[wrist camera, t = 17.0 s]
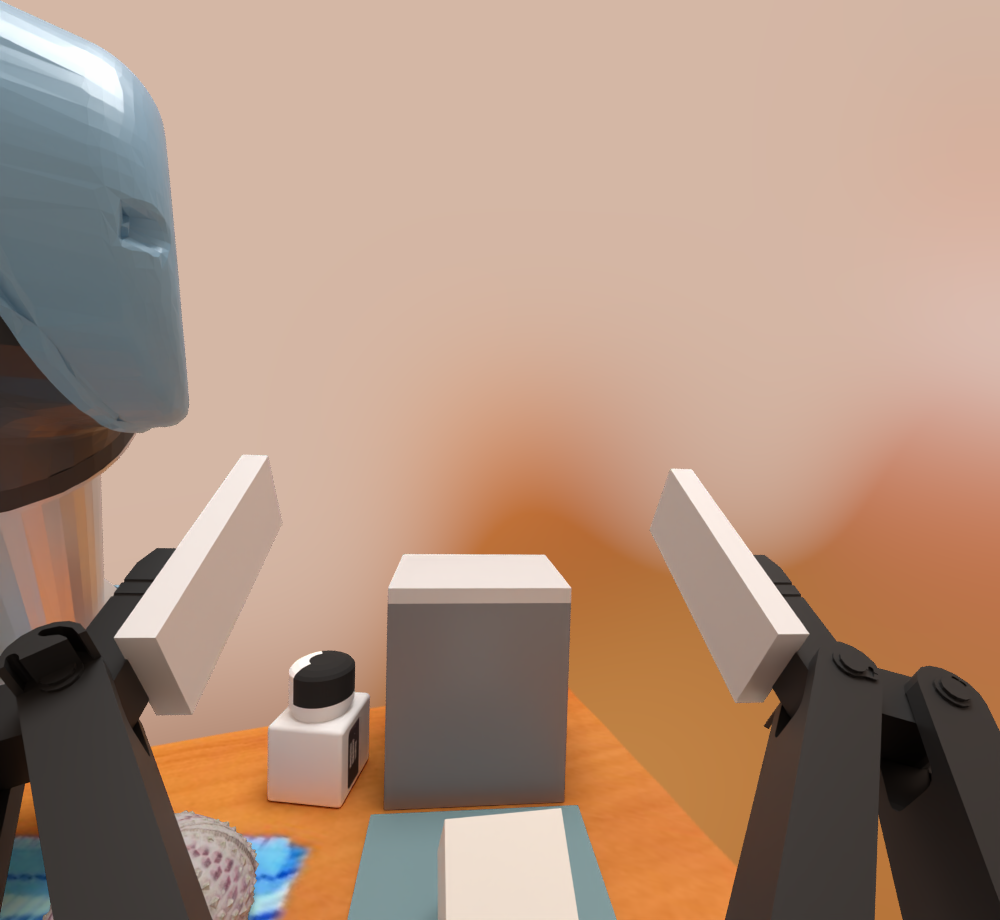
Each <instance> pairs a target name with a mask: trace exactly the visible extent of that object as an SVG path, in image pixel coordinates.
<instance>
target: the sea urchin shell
mask: <svg viewBox="0 0 1000 920" xmlns="http://www.w3.org/2000/svg"><path fill="white" fill-rule="evenodd" d="M174 814H175V817H176V820H177V822H178V825H179V828H180V831H181V833H182V836H183V839H184V842H185V845H186V847H187V850H188V853H189V856H190V858H191V861H192V864H193V867H194V869H195V872H196V875H197V878H198V881H199V883H200V886H201V889H202V892H203V894H204V897H205V900H206V903H207V906H208V908H209V911H210V914H211V917H212V919H213V920H248V912H249V911H250V908H251V905H252V904H253V902H254V898H253V896H254V893H253V891H254V889H255V888H254V884H255V883H256V881H257V880H256V879H255V877H256V874H255V871H256V869H257V867H258V865H259V864H258V863H257V861H256V860H255V857H256V855H257V853H255V850H252V849H251V845H252V843H249V842H247V840H246V838H244V837H242V834H239V833H237V832H236V827H232V828H231V827H229V822H220V820H219V819H217V820H215V819H213V818H210V817H206V816H203V815H198V814H195V813H194V812H193V811H191V812H189V813H188V811H187V810H186V811H184V812H182V813H174ZM43 920H53V914H52V908H51V905H50V911H49V912H48V913H47V914H46V915H44V916H43Z"/></svg>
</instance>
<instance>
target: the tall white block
mask: <svg viewBox="0 0 1000 920" xmlns="http://www.w3.org/2000/svg"><path fill="white" fill-rule="evenodd" d="M437 857H438V920H579V919H578V912H577V906H576V900H575V893H574V887H573V880H572V874H571V867H570V861H569V855H568V848H567V842H566V835H565V829H564V822H563V816H562V810H561V808H557V809H547V810H536V811H526V812H515V813H505V814H495V815H484V816H474V817H463V818H453V819H445V820H444V825H443V829H442V834H441V838H440V842H439V847H438V851H437Z"/></svg>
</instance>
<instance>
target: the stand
mask: <svg viewBox="0 0 1000 920" xmlns="http://www.w3.org/2000/svg"><path fill="white" fill-rule="evenodd" d="M570 610H571V587H570V586H569V585H568V583H567V582H566V581H565V580H564V578H563V577H562V576H561V574H560V573H559V572H558V571H557V569H556V568H555V567H554V566H553V564H552V563H551V562H550V561H549V559H548V558H547V557H546V556H545V555H468V554H465V555H464V554H462V555H461V554H460V555H457V554H451V555H450V554H403V556H402V558H401V561H400V563H399V565H398V567H397V570H396V572H395V574H394V576H393V579H392V581H391V583H390V585H389V588H388V618H387V619H388V620H387V624H388V625H387V670H386V671H387V672H386V722H385V775H384V810H400V809H422V808H444V807H466V806H488V805H511V804H533V803H555V802H564V790H565V761H566V731H567V701H568V671H569V642H570V612H571V611H570Z"/></svg>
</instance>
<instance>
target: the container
mask: <svg viewBox="0 0 1000 920" xmlns="http://www.w3.org/2000/svg"><path fill="white" fill-rule="evenodd" d="M354 689H355V661H354V659H353V658H352V657H351V656H349V655H348V654H346V653H343V652H338V651H320V652H315V653H312V654H309V655H306V656H304V657H302V658H300V659H298V660H297V661H296V662H295V663H294V664H293V665H292V666H291V668H290V670H289V706H288V707H287V708H286V709H285V710H284V711H283V712H282V714H281V715H280V716H279V717H278V718H277V719H276V720H275V721H274V722H273V723H272V724H271V725H270V726H269V728H268V788H267V797H268V800H270V801H278V802H288V803H297V804H307V805H317V806H326V807H336V808H339V807H340V806H341V805H342V804H343V802H344V800H345V799H346V797H347V795H348V793H349V791H350V790H351V788H352V786H353V784H354V783H355V781H356V779H357V777H358V776H359V774H360V772H361V770H362V769H363V767H364V765H365V763H366V761H367V760H368V756H369V703H370V701H369V700H370V696H369V694H368V693H360V692H355V690H354Z"/></svg>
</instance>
